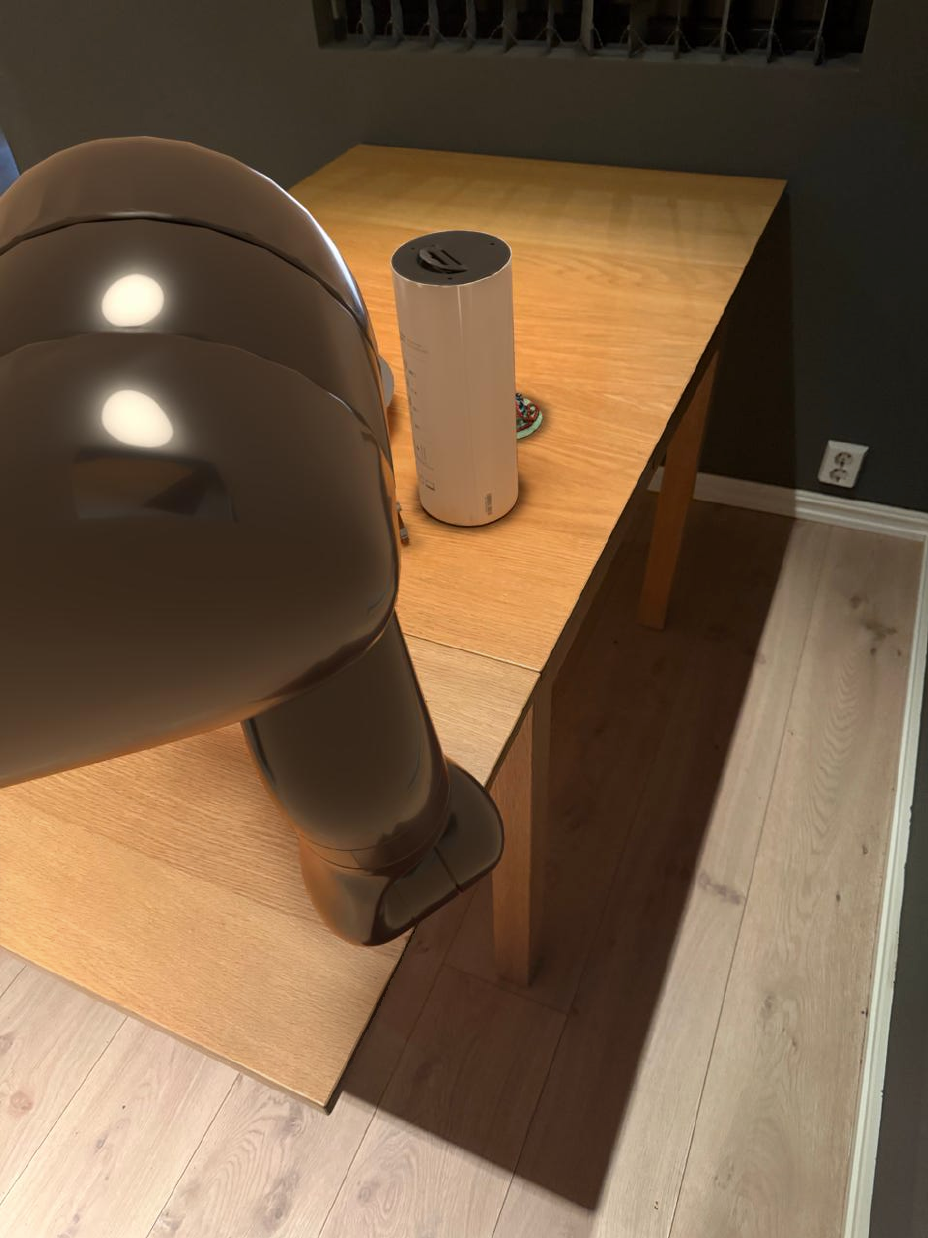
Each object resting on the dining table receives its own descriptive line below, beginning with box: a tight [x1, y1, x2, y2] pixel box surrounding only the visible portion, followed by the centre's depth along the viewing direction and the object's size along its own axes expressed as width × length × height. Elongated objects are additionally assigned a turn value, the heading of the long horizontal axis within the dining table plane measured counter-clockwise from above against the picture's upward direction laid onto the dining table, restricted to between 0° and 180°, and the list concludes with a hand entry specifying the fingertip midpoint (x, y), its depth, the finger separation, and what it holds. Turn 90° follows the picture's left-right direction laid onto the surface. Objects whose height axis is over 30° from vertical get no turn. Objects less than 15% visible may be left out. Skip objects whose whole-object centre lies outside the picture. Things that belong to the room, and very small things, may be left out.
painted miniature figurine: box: [516, 392, 543, 440], centre depth 101 cm, size 8×7×8 cm
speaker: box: [389, 229, 519, 527], centre depth 83 cm, size 11×10×26 cm
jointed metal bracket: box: [396, 500, 410, 543], centre depth 89 cm, size 2×8×4 cm, turn 32°
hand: (194, 521), depth 66 cm, fingers open, 8 cm apart
